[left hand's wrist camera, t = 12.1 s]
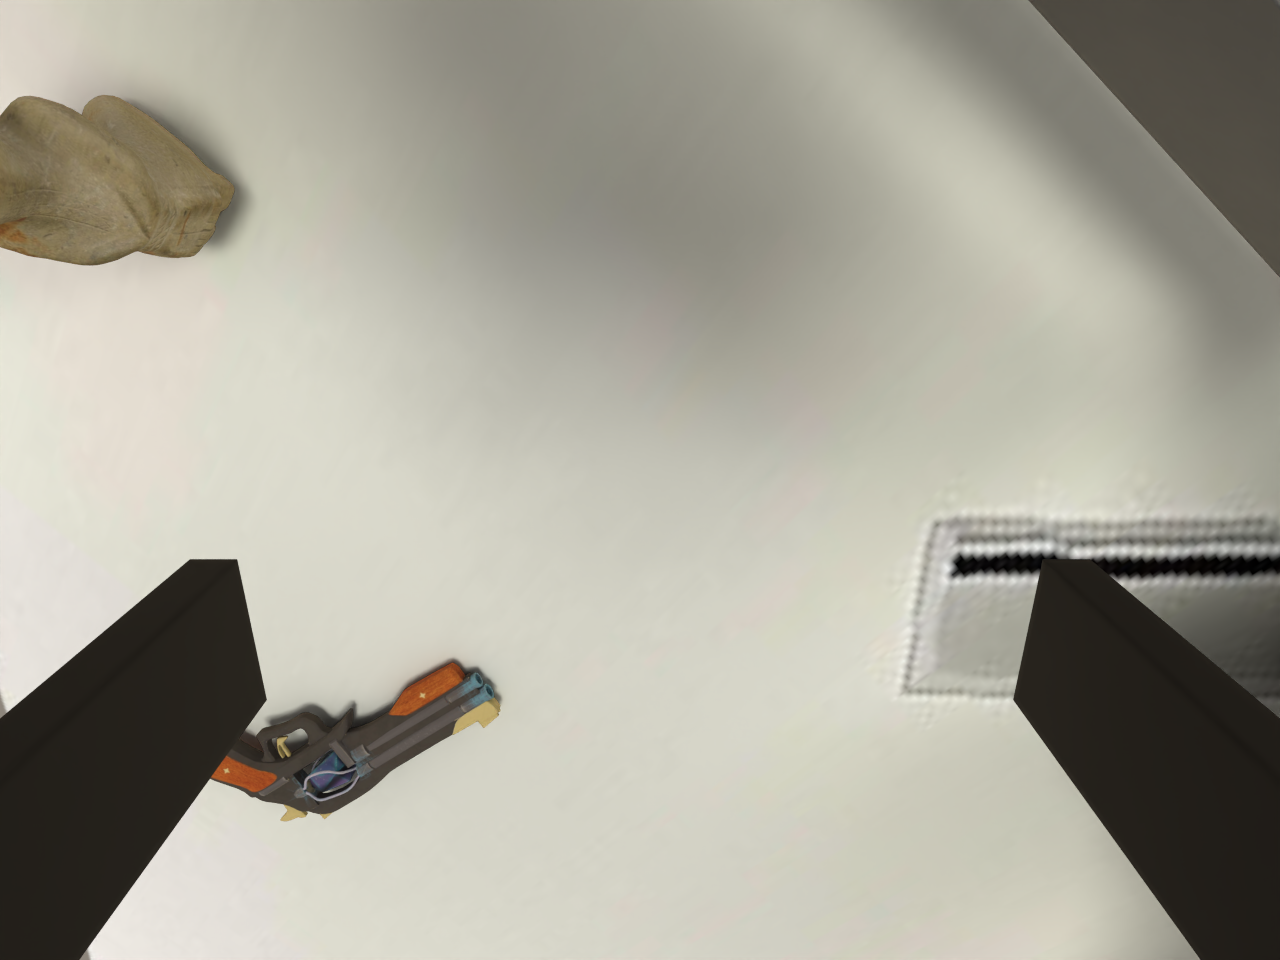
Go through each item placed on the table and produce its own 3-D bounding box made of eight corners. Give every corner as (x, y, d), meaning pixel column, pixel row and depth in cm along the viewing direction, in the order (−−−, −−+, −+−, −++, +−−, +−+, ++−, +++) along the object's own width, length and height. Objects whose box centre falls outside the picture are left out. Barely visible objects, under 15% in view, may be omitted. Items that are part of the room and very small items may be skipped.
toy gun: (145, 752, 46) (253, 872, 48) (400, 590, 44) (502, 723, 45) (173, 727, 49) (273, 842, 51) (414, 573, 46) (509, 700, 48)
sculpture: (131, 73, 35) (-206, 0, 21) (269, 182, 37) (41, 183, 23) (74, 177, 37) (-274, 174, 23) (209, 278, 38) (-38, 333, 24)
